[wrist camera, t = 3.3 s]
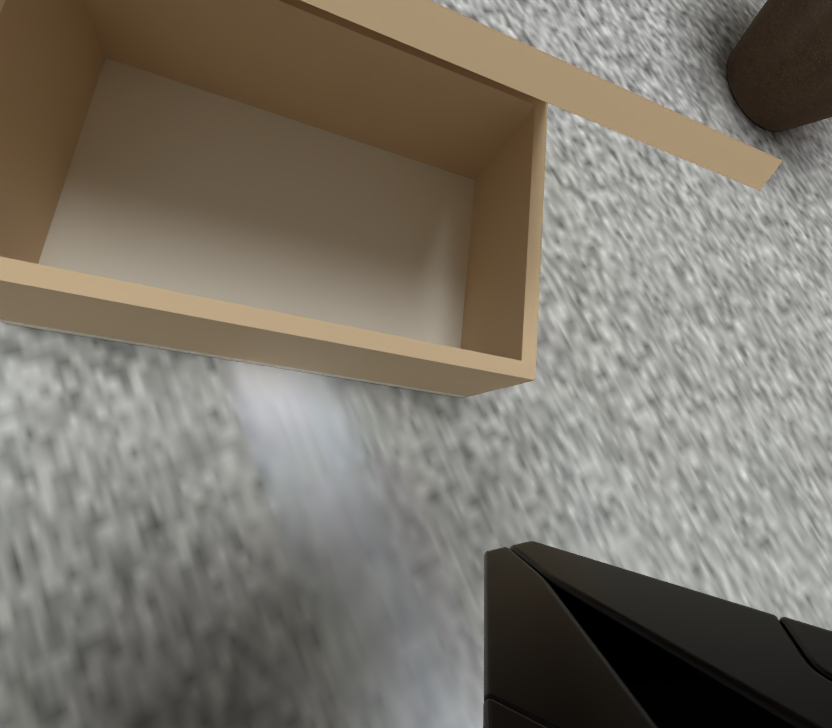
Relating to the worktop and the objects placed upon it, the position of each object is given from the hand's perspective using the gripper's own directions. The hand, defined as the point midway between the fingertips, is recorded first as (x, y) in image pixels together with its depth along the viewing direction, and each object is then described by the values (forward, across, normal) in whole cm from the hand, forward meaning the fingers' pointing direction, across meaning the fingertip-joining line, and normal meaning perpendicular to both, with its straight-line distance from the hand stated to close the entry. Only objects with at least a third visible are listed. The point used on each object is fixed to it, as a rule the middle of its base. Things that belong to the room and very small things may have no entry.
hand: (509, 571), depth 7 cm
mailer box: (+15, -4, +7) cm, 17 cm away
